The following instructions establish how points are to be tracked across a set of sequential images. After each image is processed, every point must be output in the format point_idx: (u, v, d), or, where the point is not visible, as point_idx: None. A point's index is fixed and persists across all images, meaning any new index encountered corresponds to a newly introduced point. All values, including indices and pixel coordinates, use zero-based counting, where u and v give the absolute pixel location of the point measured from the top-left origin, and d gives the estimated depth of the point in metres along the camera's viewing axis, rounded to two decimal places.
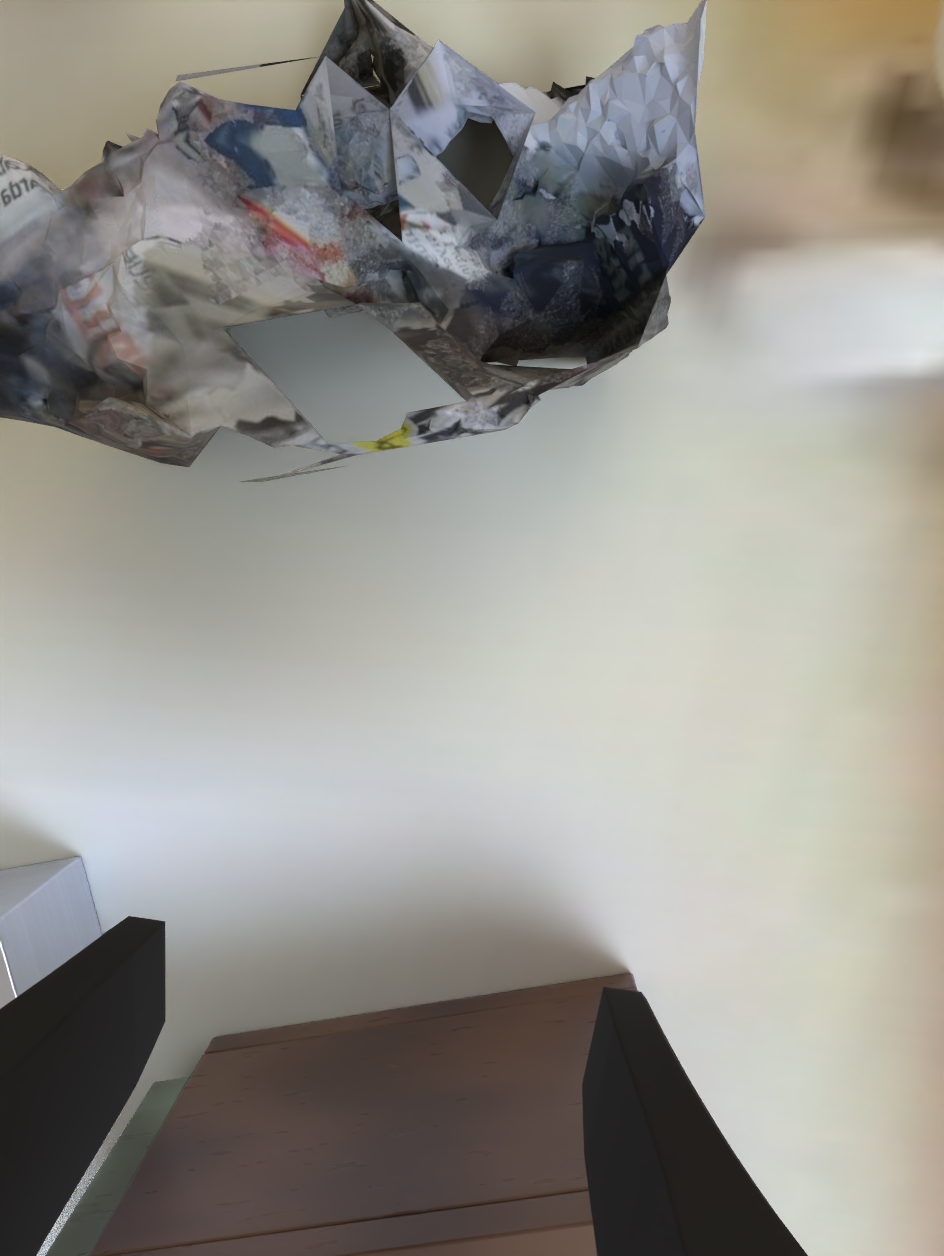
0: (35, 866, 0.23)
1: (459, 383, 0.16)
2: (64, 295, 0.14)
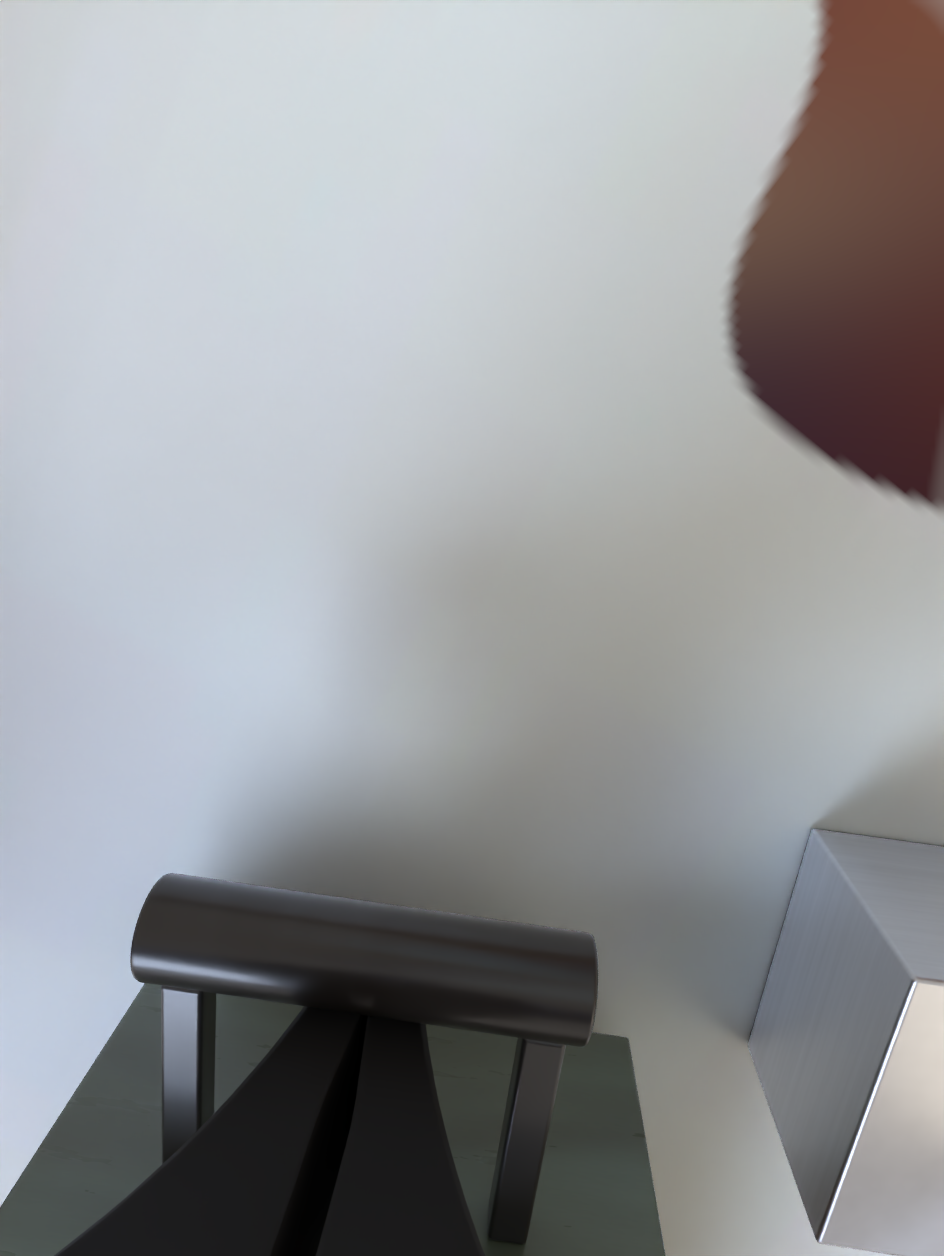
0: None
1: None
2: None
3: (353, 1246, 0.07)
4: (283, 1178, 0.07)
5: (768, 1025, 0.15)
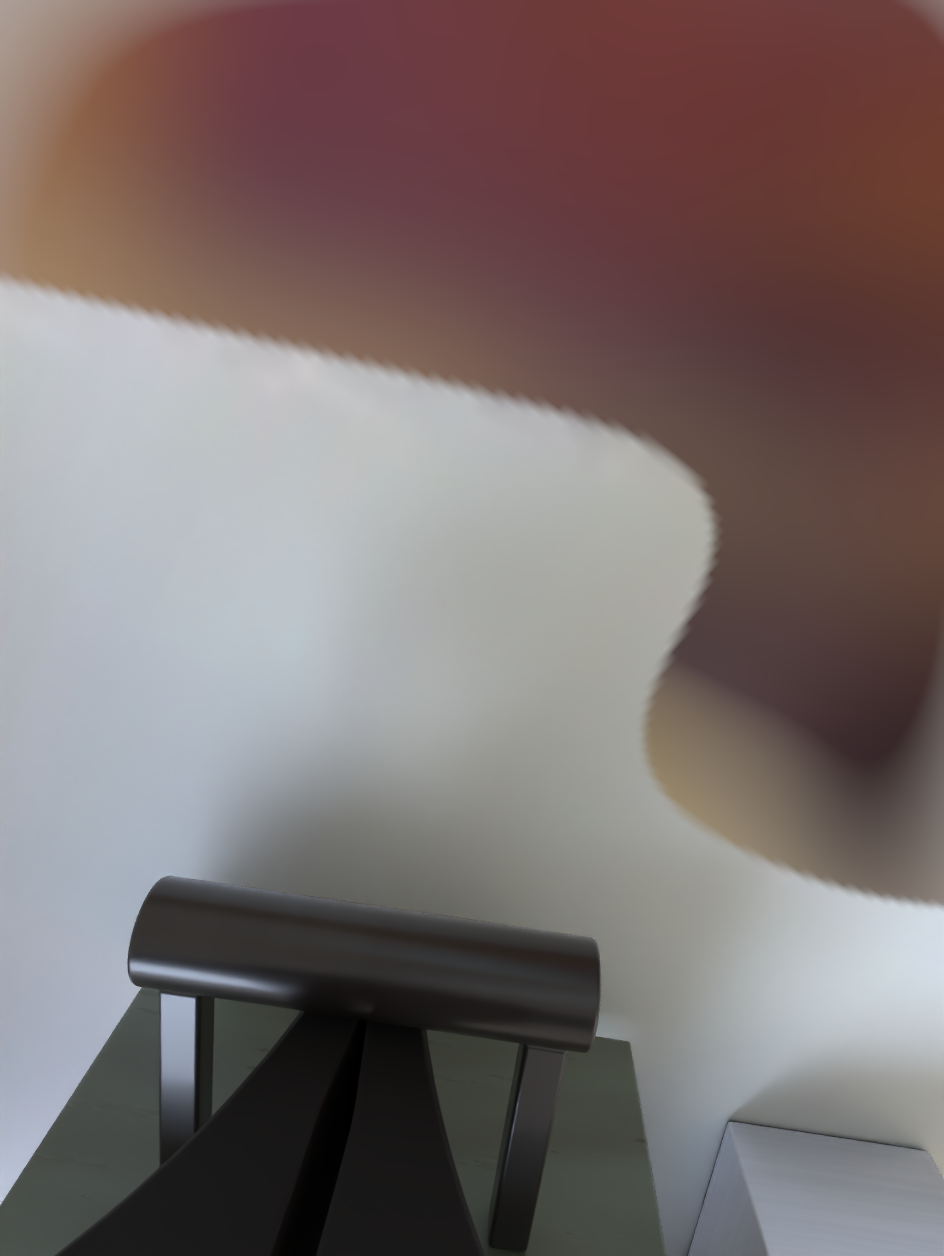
0: None
1: None
2: None
3: (353, 1246, 0.07)
4: (283, 1178, 0.07)
5: None
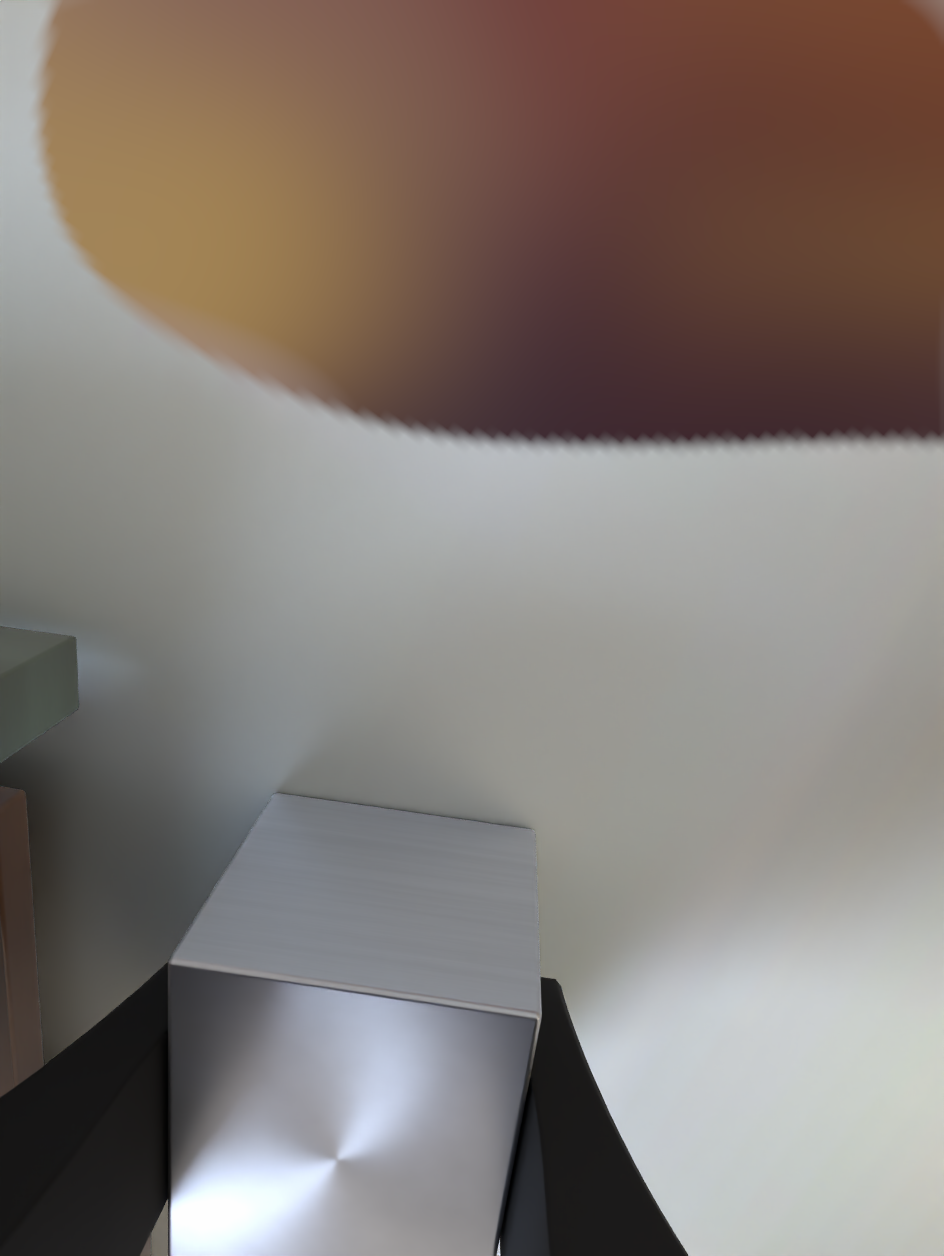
0: None
1: None
2: None
3: None
4: (67, 1144, 0.08)
5: None
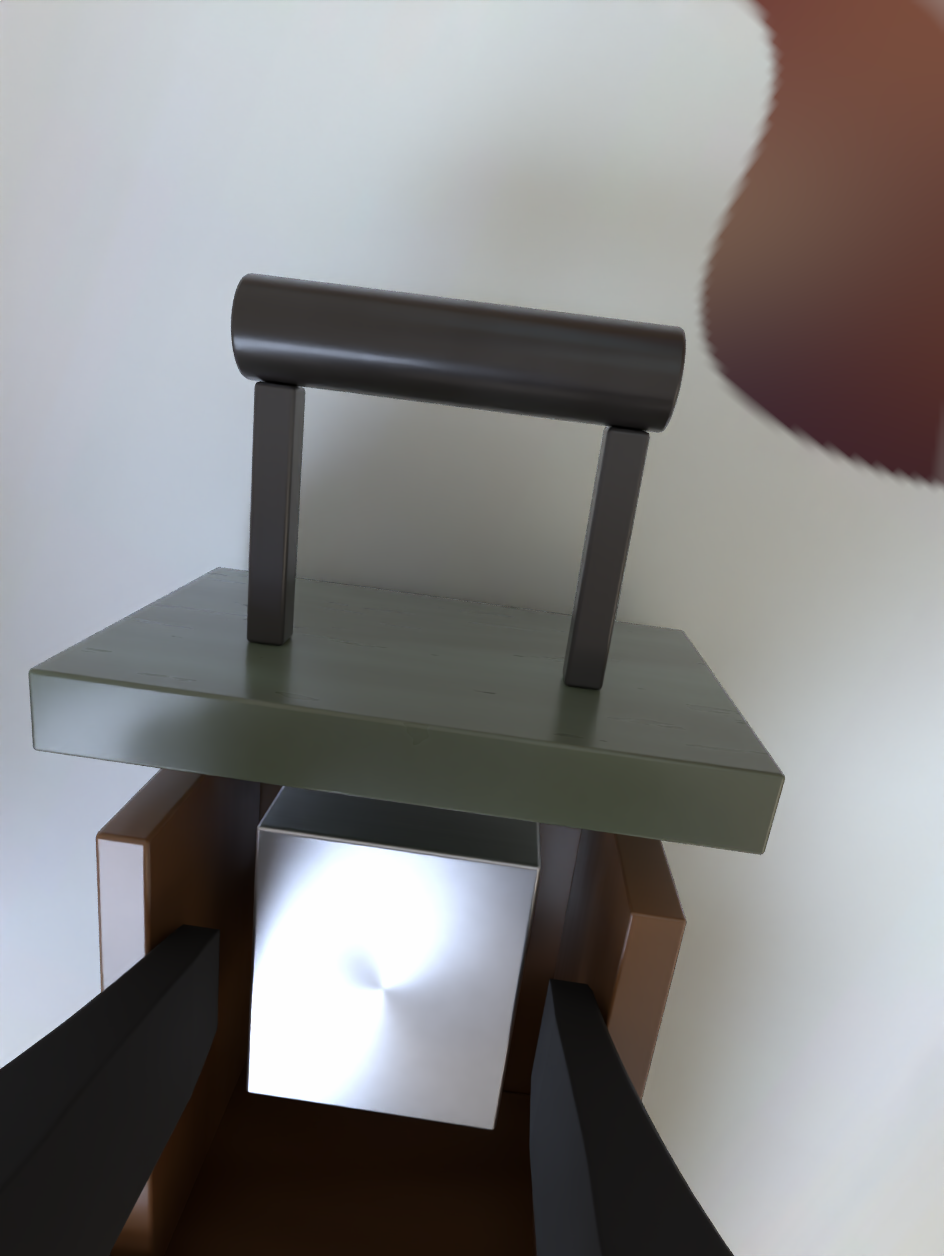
0: None
1: None
2: None
3: None
4: (30, 1138, 0.08)
5: None
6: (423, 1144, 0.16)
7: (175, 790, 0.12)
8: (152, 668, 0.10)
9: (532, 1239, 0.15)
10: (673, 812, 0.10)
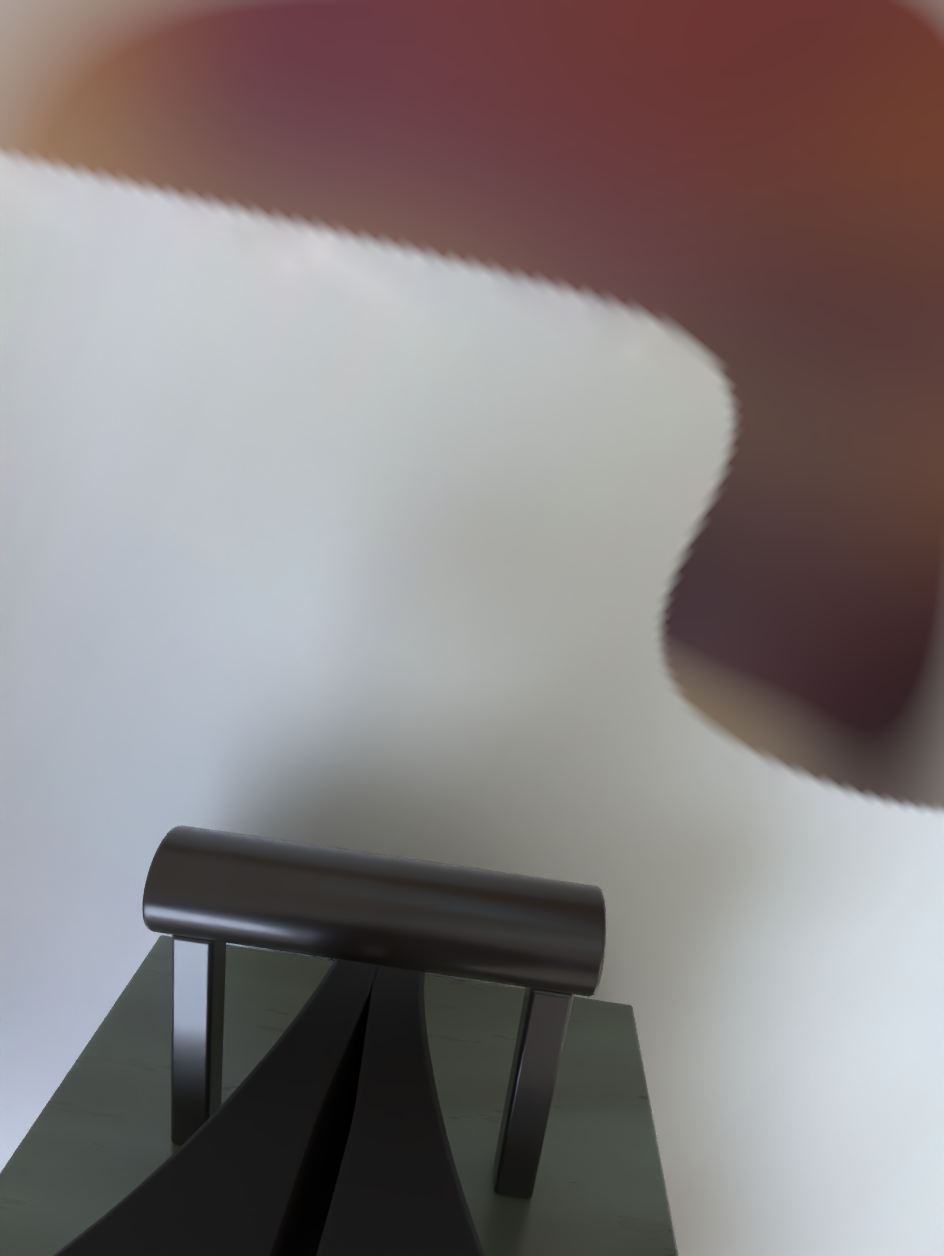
0: None
1: None
2: None
3: (353, 1246, 0.07)
4: (283, 1177, 0.07)
5: None
6: None
7: None
8: (64, 1242, 0.10)
9: None
10: None
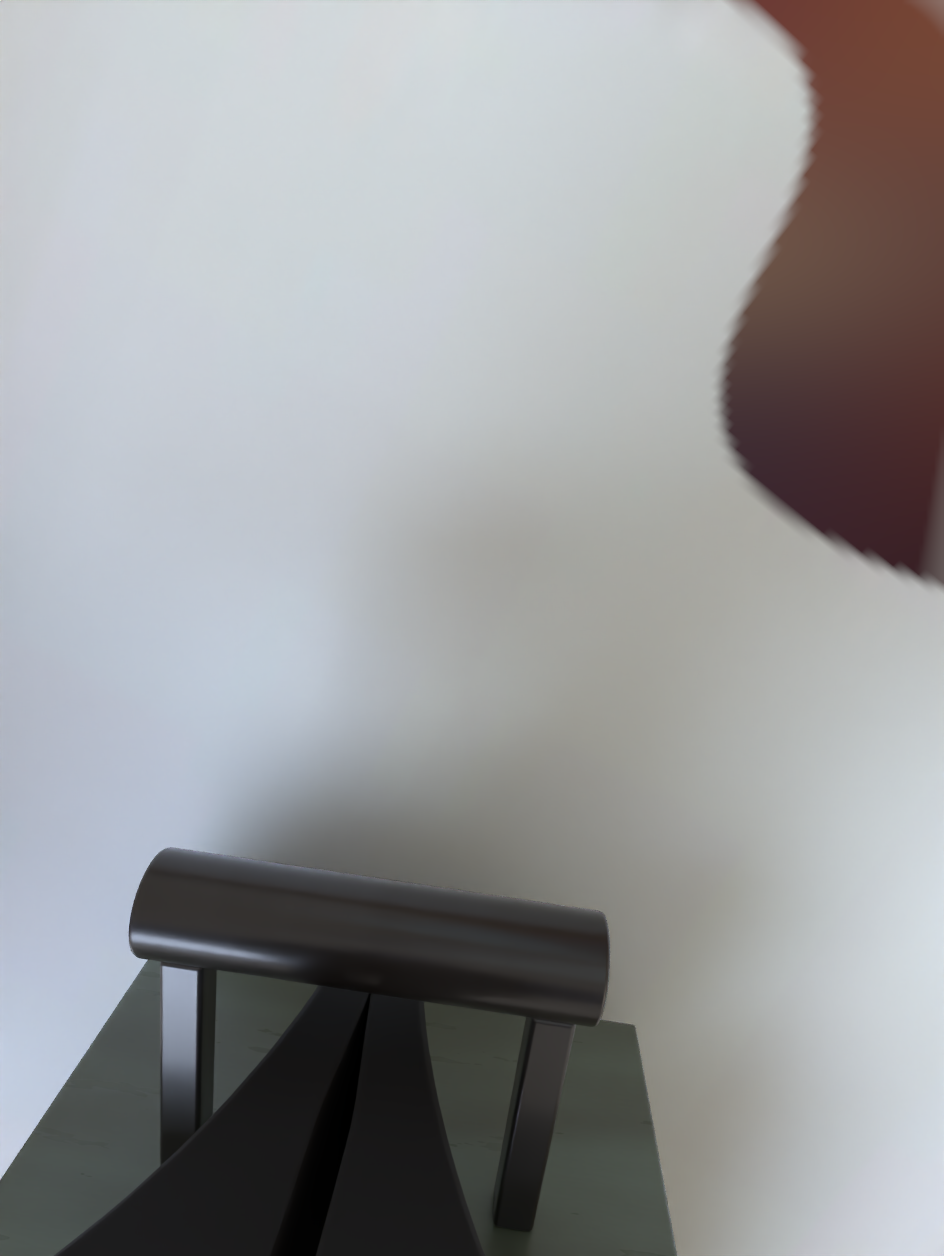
0: None
1: None
2: None
3: (353, 1246, 0.07)
4: (283, 1178, 0.07)
5: None
6: None
7: None
8: None
9: None
10: None
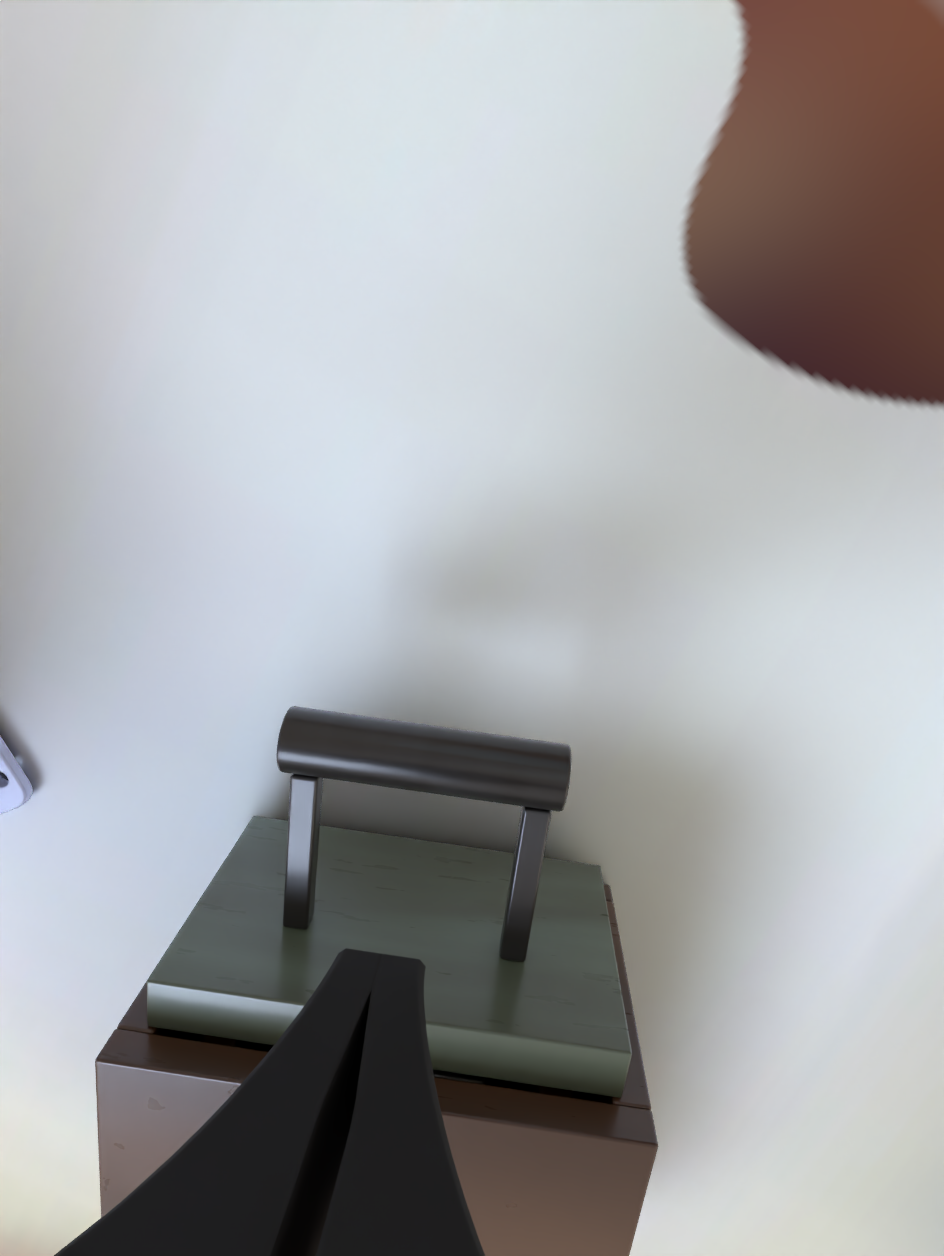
0: None
1: None
2: None
3: (353, 1246, 0.07)
4: (283, 1178, 0.07)
5: None
6: None
7: None
8: (224, 970, 0.15)
9: None
10: (562, 1072, 0.15)
